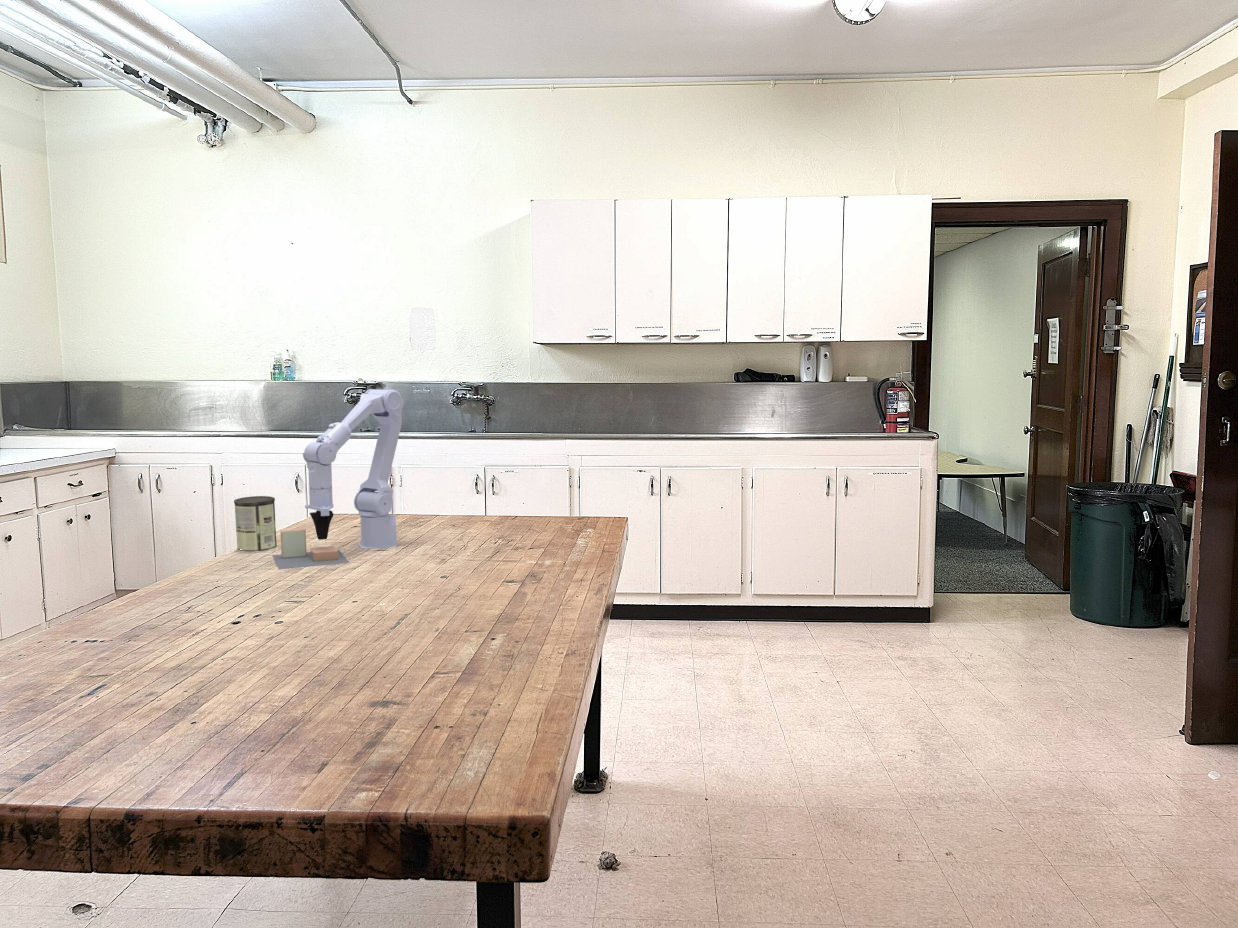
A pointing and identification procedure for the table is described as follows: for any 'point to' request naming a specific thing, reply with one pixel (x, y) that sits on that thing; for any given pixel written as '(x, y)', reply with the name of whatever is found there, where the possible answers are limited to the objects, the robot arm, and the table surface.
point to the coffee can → (255, 524)
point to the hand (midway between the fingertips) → (322, 539)
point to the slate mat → (306, 561)
